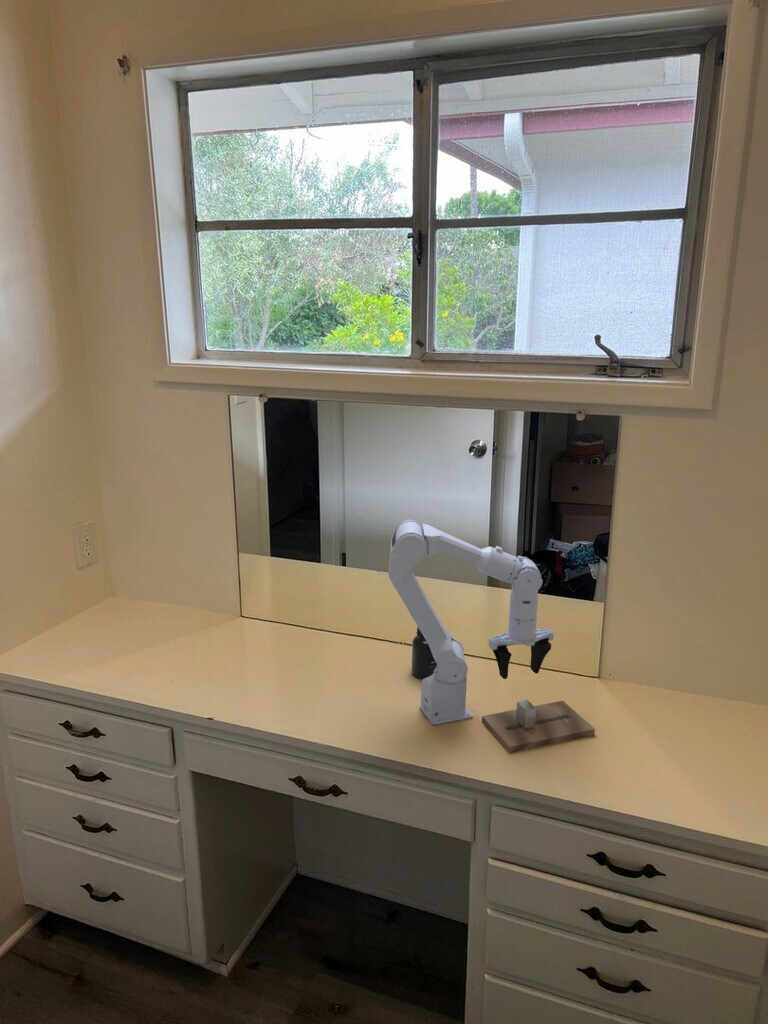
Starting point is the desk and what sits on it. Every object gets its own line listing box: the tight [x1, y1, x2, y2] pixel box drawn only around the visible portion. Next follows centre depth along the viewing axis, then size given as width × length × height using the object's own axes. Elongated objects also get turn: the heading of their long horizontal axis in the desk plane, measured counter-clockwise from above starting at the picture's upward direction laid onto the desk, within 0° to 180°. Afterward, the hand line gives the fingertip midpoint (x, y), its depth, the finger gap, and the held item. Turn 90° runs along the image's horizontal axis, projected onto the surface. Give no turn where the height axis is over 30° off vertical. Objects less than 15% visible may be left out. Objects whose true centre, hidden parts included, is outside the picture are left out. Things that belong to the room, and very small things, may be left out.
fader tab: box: [516, 699, 536, 729], centre depth 154 cm, size 2×4×4 cm, turn 20°
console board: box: [481, 700, 596, 754], centre depth 156 cm, size 20×12×2 cm, turn 110°
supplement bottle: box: [411, 626, 437, 680], centre depth 178 cm, size 7×7×12 cm
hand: (519, 674), depth 160 cm, fingers open, 7 cm apart
